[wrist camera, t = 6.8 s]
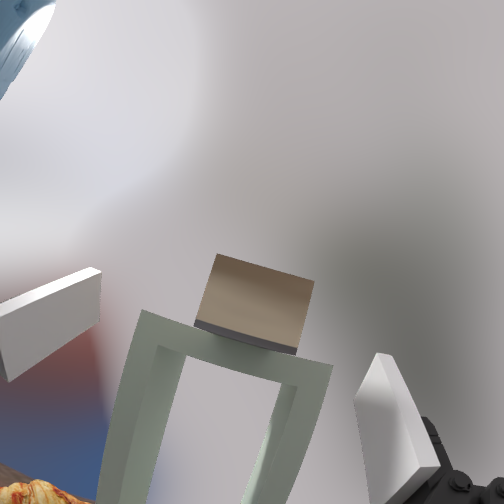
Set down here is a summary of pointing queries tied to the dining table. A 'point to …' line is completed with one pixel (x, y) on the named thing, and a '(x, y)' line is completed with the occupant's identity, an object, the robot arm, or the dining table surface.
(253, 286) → the light wooden bar
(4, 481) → the dining table surface
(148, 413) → the rectangular arch
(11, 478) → the dining table surface
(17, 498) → the croissant
